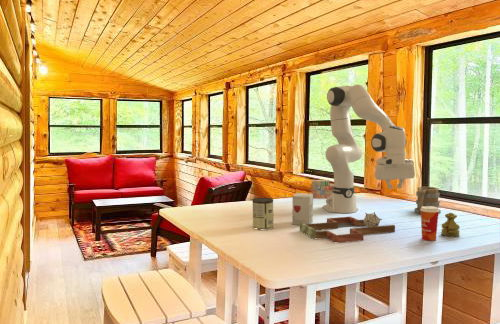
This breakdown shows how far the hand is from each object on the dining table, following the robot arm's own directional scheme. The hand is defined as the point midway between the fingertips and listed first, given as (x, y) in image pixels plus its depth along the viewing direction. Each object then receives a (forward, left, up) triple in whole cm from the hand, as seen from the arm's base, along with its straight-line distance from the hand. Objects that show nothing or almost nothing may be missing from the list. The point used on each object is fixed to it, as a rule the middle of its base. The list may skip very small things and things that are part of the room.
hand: (394, 188), depth 205 cm
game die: (0, -13, -19) cm, 23 cm away
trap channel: (0, -26, -19) cm, 32 cm away
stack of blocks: (-85, +7, -20) cm, 88 cm away
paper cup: (+24, +1, -19) cm, 30 cm away
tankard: (-22, +36, -19) cm, 47 cm away
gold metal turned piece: (+21, +15, -19) cm, 32 cm away
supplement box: (-21, -39, -19) cm, 49 cm away
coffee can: (-19, -61, -19) cm, 67 cm away
